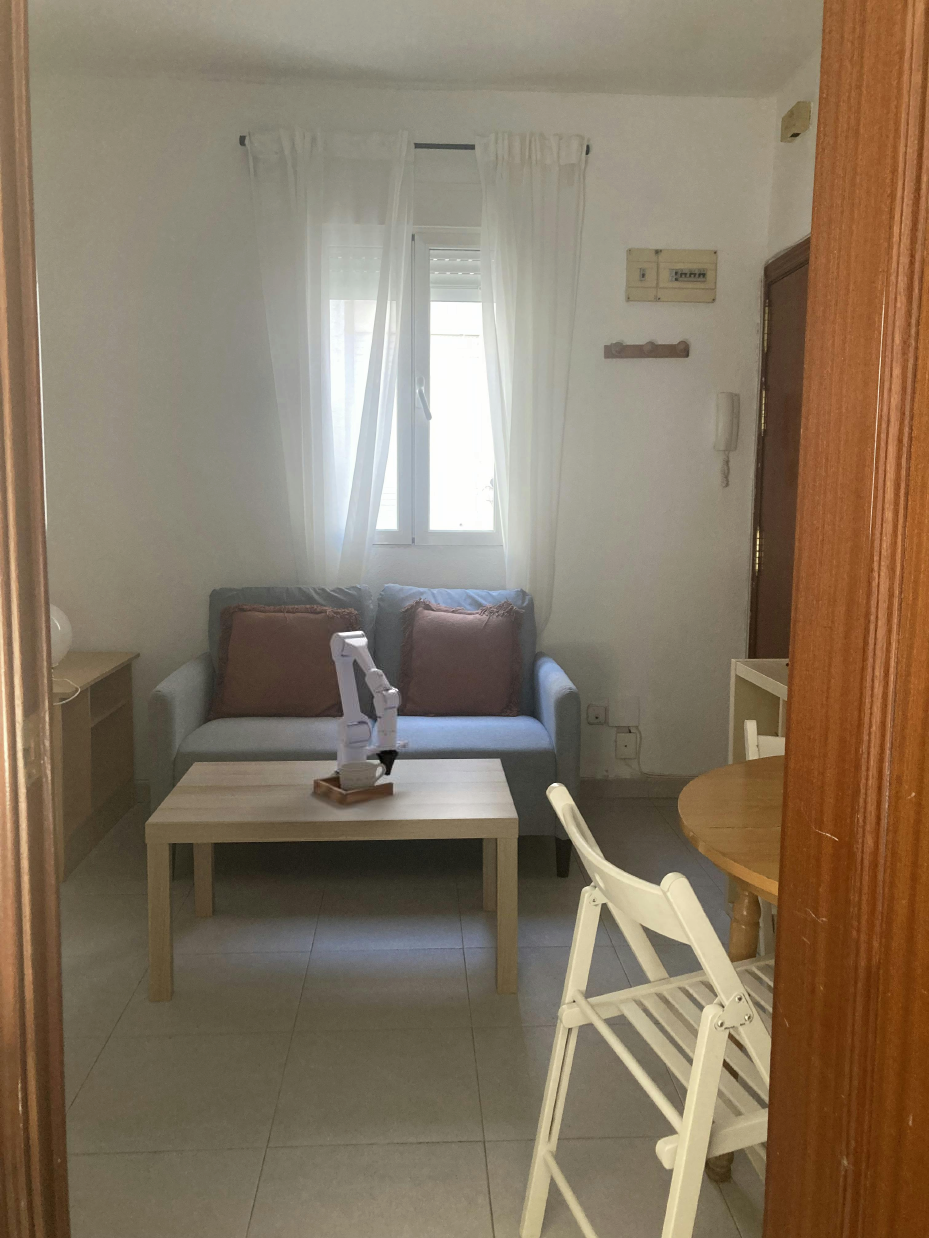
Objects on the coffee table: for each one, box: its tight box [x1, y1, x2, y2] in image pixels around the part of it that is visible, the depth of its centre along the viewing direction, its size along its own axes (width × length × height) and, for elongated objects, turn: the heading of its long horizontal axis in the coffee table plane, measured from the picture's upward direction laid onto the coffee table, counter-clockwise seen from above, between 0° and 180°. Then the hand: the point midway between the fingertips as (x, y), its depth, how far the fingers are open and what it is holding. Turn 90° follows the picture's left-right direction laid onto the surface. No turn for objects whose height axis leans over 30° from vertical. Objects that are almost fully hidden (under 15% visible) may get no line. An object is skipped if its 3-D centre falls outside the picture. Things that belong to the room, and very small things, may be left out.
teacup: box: [339, 760, 386, 792], centre depth 274 cm, size 14×11×8 cm
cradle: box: [313, 774, 394, 807], centre depth 272 cm, size 16×17×4 cm
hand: (386, 774), depth 280 cm, fingers closed
